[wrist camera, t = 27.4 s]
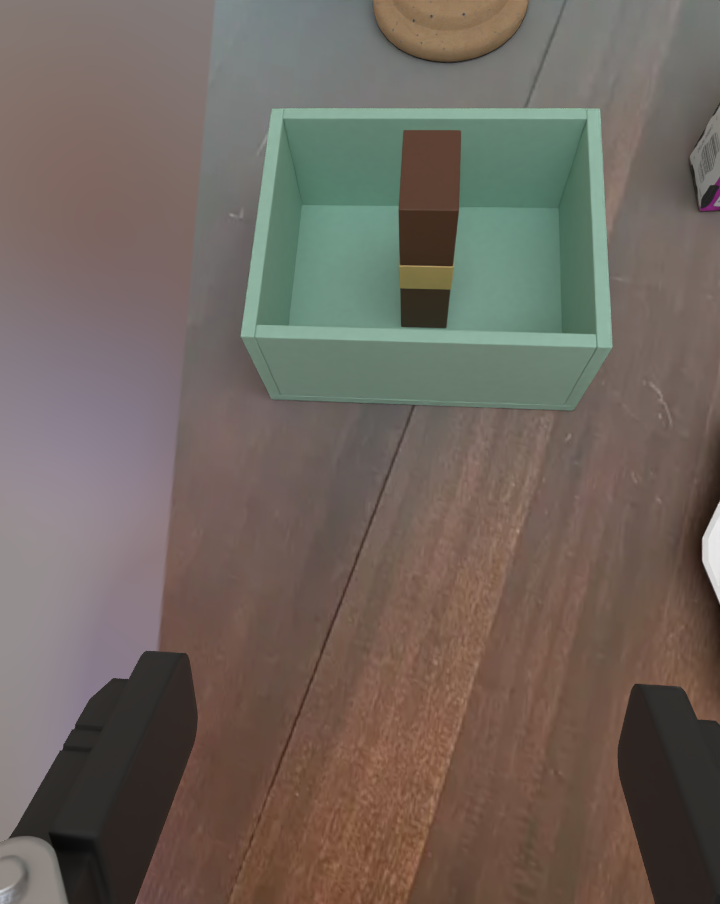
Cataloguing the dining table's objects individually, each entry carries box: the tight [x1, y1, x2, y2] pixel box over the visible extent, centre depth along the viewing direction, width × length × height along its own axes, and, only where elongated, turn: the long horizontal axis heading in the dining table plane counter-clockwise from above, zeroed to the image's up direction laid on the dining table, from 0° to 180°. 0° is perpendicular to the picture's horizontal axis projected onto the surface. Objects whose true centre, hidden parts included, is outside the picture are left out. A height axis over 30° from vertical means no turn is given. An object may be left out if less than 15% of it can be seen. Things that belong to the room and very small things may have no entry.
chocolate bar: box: [398, 130, 461, 328], centre depth 40 cm, size 3×5×12 cm, turn 176°
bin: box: [241, 108, 613, 411], centre depth 43 cm, size 20×16×9 cm
